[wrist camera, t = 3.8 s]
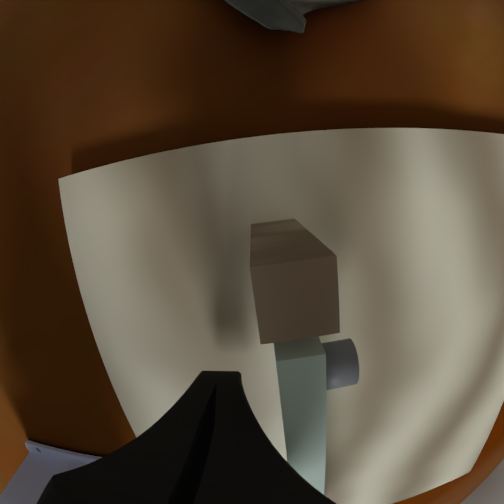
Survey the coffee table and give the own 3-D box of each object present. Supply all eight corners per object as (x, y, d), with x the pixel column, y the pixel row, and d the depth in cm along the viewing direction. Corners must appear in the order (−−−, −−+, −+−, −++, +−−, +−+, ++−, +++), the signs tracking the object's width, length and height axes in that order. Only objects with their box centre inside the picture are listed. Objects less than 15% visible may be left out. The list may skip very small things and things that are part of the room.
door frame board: (193, 518, 16) (183, 584, 10) (71, 178, 11) (-46, 186, 5) (465, 464, 16) (496, 515, 9) (522, 139, 11) (613, 137, 4)
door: (291, 508, 14) (298, 572, 9) (264, 282, 11) (274, 364, 6) (326, 502, 14) (339, 565, 9) (327, 273, 11) (382, 345, 6)
